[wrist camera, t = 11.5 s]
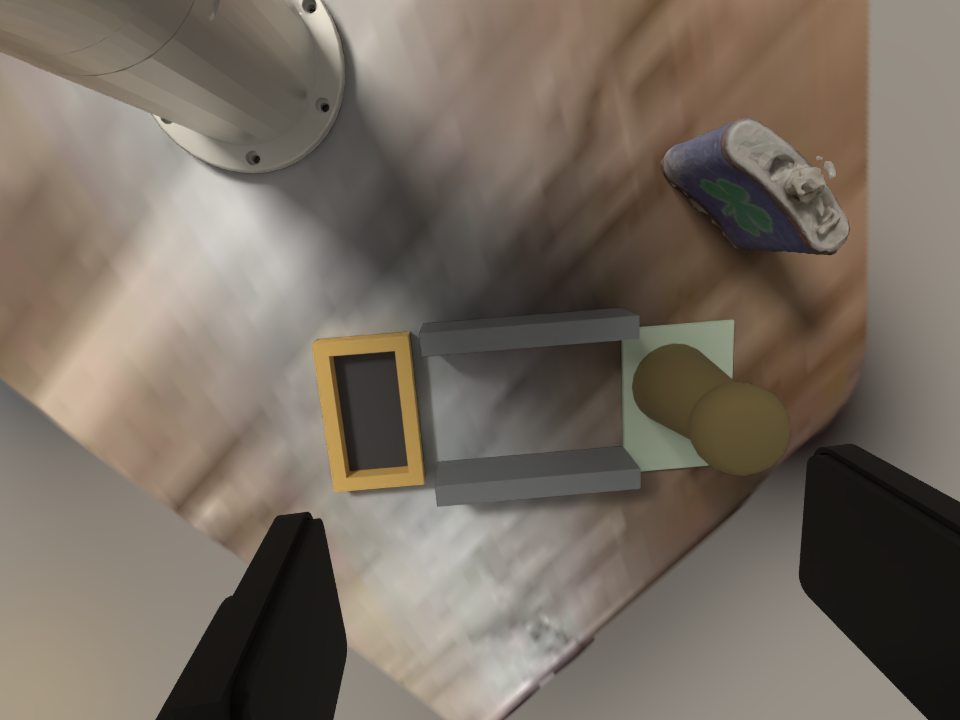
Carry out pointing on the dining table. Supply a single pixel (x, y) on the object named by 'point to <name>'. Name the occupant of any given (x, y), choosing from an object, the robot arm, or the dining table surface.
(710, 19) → the dining table surface
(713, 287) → the dining table surface
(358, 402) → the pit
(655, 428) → the mat
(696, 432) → the cork
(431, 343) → the grey parallel walls
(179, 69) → the robot arm
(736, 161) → the flask
